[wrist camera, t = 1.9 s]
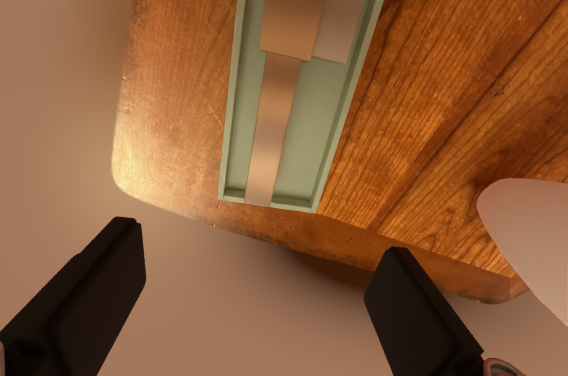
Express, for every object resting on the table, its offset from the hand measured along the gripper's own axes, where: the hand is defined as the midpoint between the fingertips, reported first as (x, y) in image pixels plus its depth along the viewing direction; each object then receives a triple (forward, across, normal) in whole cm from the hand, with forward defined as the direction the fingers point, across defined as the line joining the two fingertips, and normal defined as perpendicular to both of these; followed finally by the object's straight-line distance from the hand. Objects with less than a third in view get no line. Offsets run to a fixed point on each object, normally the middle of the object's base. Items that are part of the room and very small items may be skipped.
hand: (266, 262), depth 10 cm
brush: (+16, -1, -4) cm, 16 cm away
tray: (+16, -1, -4) cm, 17 cm away
